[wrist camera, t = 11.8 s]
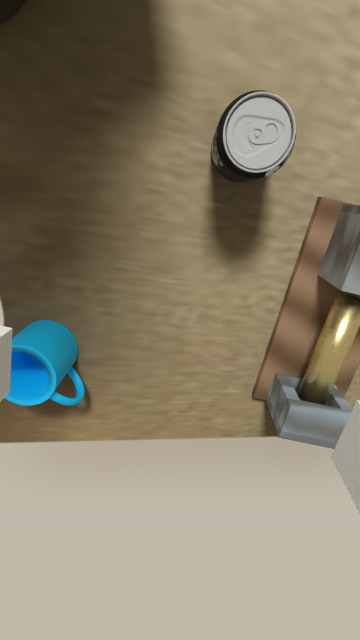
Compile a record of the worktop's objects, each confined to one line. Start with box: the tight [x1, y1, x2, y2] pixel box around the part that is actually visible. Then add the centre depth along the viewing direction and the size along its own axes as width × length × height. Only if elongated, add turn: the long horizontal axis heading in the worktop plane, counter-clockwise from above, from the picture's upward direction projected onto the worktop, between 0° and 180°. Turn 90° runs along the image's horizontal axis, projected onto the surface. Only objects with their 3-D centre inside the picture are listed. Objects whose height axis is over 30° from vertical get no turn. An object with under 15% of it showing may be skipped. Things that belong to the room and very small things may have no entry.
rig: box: [252, 197, 360, 449], centre depth 41 cm, size 27×12×9 cm, turn 168°
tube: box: [297, 291, 360, 405], centre depth 42 cm, size 16×4×4 cm, turn 168°
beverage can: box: [211, 90, 296, 182], centre depth 33 cm, size 7×7×12 cm
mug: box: [4, 320, 85, 406], centre depth 45 cm, size 12×8×8 cm
